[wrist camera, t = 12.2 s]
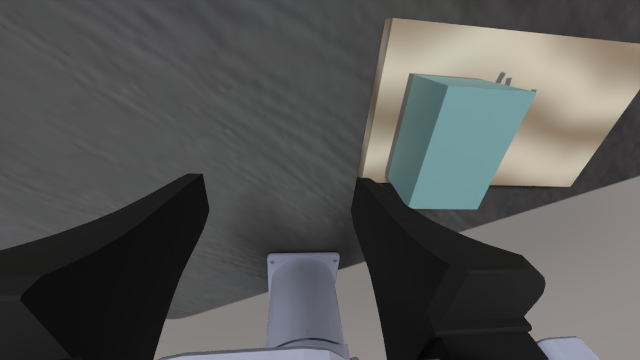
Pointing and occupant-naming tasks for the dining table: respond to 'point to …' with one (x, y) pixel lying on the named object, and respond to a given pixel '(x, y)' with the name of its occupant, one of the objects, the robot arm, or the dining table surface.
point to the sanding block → (452, 139)
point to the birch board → (517, 71)
